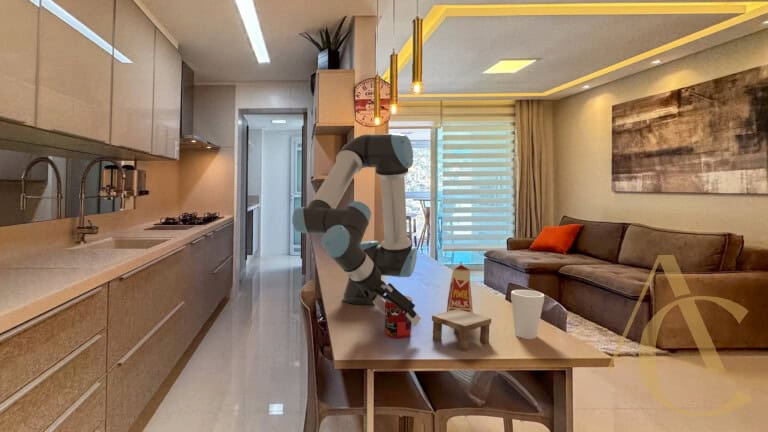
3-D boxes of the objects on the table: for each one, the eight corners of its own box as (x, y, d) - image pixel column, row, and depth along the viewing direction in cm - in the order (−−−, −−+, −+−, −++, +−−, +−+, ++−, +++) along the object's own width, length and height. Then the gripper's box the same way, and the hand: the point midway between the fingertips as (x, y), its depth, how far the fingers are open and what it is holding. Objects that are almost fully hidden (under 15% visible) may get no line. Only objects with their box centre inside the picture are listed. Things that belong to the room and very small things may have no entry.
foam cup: (506, 329, 131) (508, 289, 130) (535, 330, 131) (537, 290, 130) (514, 340, 122) (516, 296, 121) (546, 341, 121) (548, 297, 121)
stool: (431, 339, 121) (432, 315, 120) (457, 331, 128) (458, 308, 128) (464, 351, 112) (465, 326, 111) (490, 342, 119) (491, 318, 119)
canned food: (380, 331, 126) (381, 296, 126) (404, 329, 129) (405, 294, 129) (390, 340, 119) (391, 302, 119) (415, 337, 122) (416, 300, 122)
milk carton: (473, 322, 138) (475, 263, 137) (445, 320, 140) (447, 261, 139) (472, 315, 147) (475, 259, 146) (446, 312, 148) (448, 257, 147)
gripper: (329, 274, 122) (368, 316, 132) (385, 291, 103) (425, 338, 113) (345, 255, 125) (381, 297, 136) (401, 268, 106) (438, 315, 117)
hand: (401, 316), depth 125 cm, fingers open, 13 cm apart
